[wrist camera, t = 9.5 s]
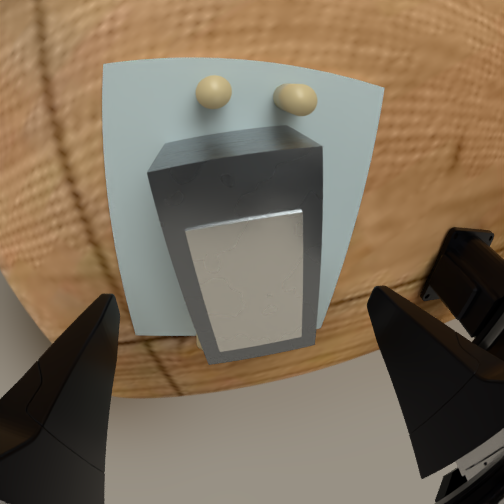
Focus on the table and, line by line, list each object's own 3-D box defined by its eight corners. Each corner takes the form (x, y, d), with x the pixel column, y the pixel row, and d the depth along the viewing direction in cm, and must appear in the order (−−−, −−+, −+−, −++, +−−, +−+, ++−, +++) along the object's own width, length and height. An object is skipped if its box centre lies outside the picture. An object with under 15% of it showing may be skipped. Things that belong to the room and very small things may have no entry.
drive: (286, 124, 11) (323, 147, 8) (293, 290, 16) (315, 346, 13) (165, 143, 11) (146, 173, 7) (205, 305, 16) (208, 366, 12)
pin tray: (375, 86, 11) (407, 91, 9) (316, 319, 19) (329, 348, 17) (109, 65, 9) (86, 62, 7) (137, 325, 17) (132, 358, 15)
